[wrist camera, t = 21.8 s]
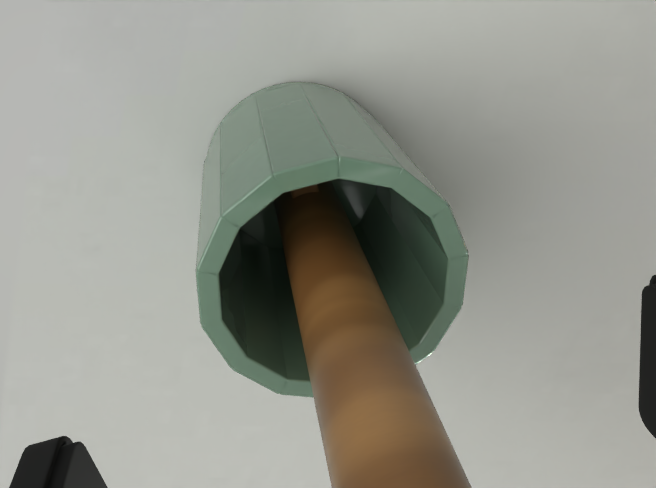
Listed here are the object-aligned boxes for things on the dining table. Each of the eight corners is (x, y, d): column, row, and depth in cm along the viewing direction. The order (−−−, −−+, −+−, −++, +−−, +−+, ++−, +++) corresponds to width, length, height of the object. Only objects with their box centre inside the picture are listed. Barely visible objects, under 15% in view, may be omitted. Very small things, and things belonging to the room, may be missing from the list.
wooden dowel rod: (260, 150, 20) (355, 657, 6) (319, 135, 20) (555, 598, 6) (284, 236, 22) (406, 808, 7) (339, 222, 22) (566, 759, 7)
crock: (178, 108, 20) (154, 204, 13) (370, 60, 20) (453, 126, 13) (233, 273, 23) (239, 426, 15) (401, 229, 23) (482, 359, 16)
